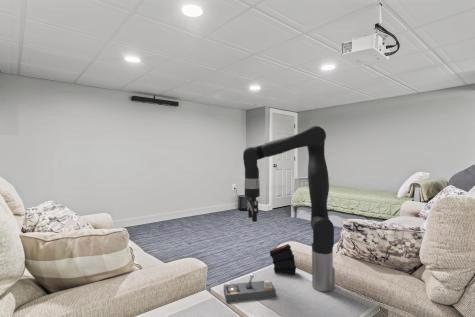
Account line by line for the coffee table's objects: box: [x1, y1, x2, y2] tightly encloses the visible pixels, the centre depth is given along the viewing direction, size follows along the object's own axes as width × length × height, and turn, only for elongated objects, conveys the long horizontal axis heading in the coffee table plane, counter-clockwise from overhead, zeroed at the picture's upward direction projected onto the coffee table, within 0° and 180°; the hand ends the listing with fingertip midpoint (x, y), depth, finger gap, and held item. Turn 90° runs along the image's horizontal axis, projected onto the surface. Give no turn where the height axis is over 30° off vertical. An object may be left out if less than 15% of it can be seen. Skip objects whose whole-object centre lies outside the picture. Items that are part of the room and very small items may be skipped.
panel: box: [223, 280, 277, 303], centre depth 118 cm, size 22×9×4 cm, turn 100°
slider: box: [263, 279, 273, 289], centre depth 117 cm, size 3×2×3 cm, turn 100°
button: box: [228, 286, 238, 293], centre depth 117 cm, size 4×4×3 cm
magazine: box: [269, 243, 297, 276], centre depth 138 cm, size 4×13×15 cm, turn 72°
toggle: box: [248, 273, 255, 284], centre depth 118 cm, size 2×2×4 cm
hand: (252, 219), depth 131 cm, fingers open, 8 cm apart
